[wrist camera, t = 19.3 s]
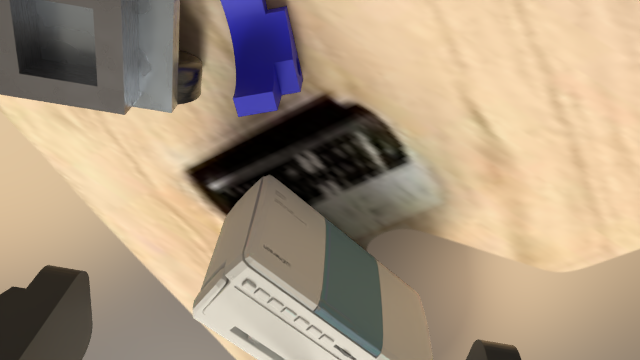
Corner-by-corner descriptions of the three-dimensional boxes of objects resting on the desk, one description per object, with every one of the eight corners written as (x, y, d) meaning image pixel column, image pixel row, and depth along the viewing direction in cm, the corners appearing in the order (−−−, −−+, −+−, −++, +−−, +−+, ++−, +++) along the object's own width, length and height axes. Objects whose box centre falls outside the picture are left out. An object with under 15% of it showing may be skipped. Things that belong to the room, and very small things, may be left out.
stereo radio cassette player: (424, 286, 55) (459, 477, 38) (367, 325, 59) (375, 518, 41) (271, 161, 49) (230, 326, 31) (216, 214, 52) (151, 389, 35)
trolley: (214, -49, 39) (178, -24, 31) (207, 83, 45) (174, 136, 36) (35, -81, 39) (-53, -64, 30) (49, 56, 44) (-22, 104, 36)
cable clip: (303, 78, 44) (297, 107, 39) (251, 87, 45) (238, 116, 40) (267, -79, 39) (255, -69, 33) (208, -66, 39) (186, -55, 34)
